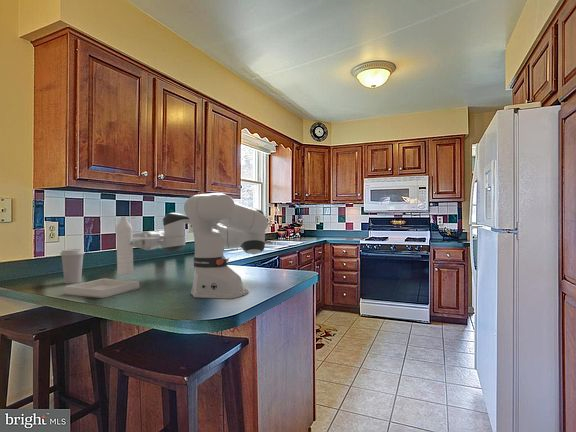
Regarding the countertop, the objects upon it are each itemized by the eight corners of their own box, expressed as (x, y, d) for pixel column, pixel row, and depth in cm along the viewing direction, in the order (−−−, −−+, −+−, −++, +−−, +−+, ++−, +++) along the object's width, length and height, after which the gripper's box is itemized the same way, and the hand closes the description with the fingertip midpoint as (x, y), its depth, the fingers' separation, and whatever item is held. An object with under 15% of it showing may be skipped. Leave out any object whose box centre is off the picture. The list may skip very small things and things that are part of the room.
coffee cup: (69, 285, 154) (68, 251, 154) (55, 283, 158) (55, 250, 158) (89, 281, 163) (89, 249, 163) (76, 279, 167) (75, 248, 167)
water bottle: (121, 275, 148) (120, 216, 147) (114, 274, 152) (112, 216, 151) (141, 272, 155) (139, 216, 154) (133, 270, 159) (132, 216, 158)
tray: (139, 288, 145) (139, 281, 145) (102, 298, 129) (101, 290, 129) (104, 285, 153) (104, 278, 153) (64, 294, 136) (64, 286, 136)
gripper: (166, 247, 161) (143, 251, 149) (132, 246, 169) (108, 249, 156) (165, 234, 161) (143, 236, 148) (132, 233, 169) (108, 235, 156)
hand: (125, 243), depth 152 cm, fingers closed on water bottle, 6 cm apart
